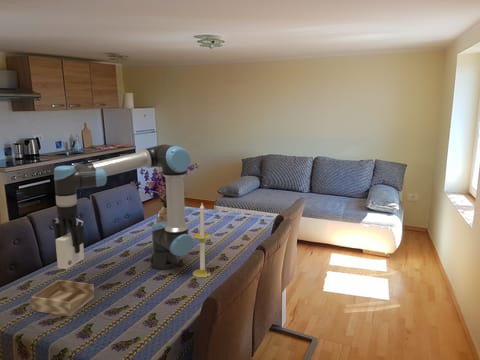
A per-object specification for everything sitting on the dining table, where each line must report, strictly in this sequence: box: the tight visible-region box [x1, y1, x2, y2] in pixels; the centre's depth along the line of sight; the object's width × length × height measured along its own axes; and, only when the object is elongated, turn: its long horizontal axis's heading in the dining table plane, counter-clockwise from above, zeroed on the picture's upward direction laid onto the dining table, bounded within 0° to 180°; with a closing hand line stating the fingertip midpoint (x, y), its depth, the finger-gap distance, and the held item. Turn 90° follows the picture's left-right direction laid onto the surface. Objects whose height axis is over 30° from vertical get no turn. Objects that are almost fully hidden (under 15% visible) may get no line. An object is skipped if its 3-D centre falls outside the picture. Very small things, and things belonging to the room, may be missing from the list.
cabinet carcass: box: [30, 279, 95, 317], centre depth 155 cm, size 18×16×6 cm
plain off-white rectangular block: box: [55, 232, 85, 270], centre depth 150 cm, size 4×11×12 cm, turn 167°
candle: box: [192, 203, 211, 278], centre depth 182 cm, size 10×10×38 cm
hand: (71, 259), depth 151 cm, fingers closed on plain off-white rectangular block, 4 cm apart
